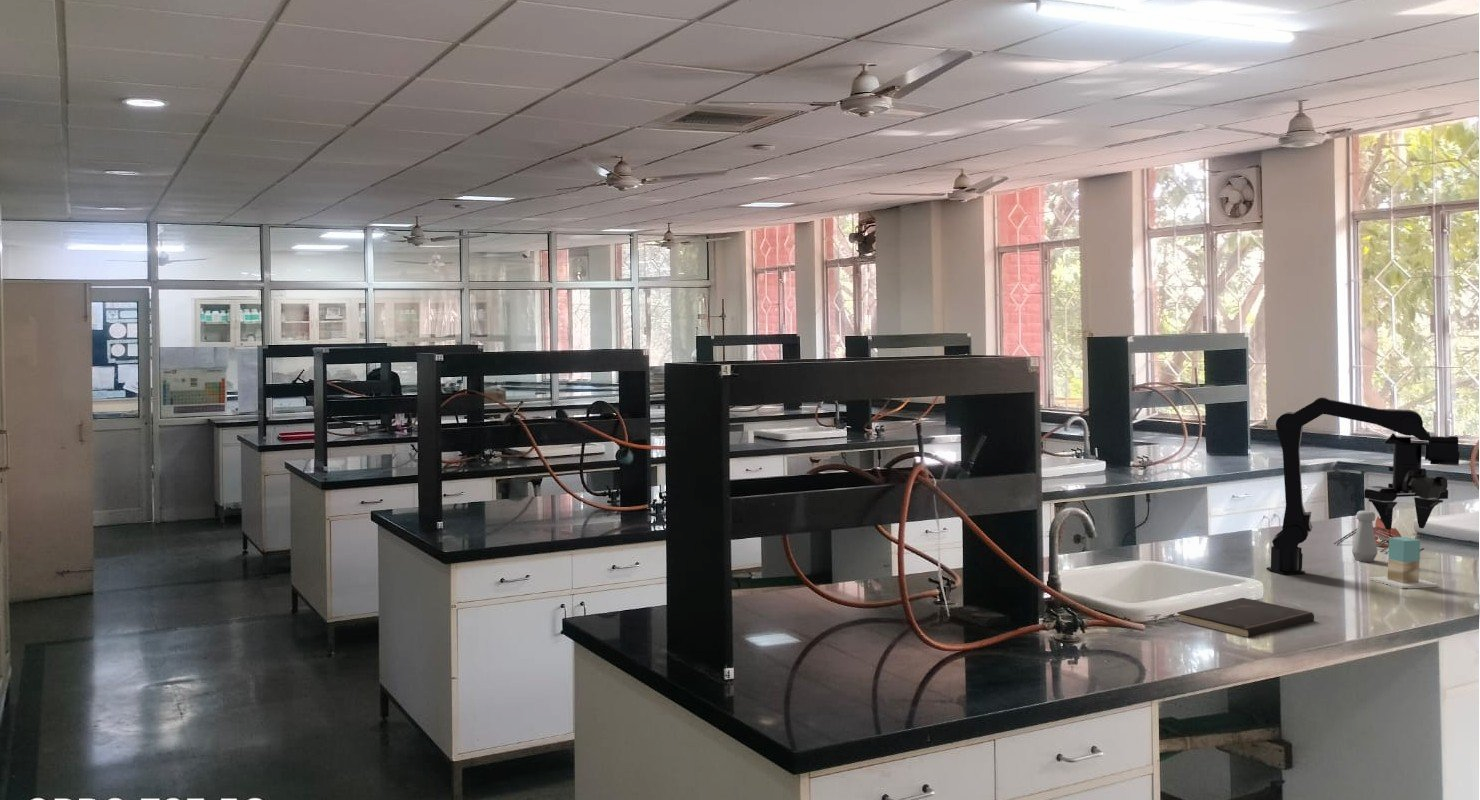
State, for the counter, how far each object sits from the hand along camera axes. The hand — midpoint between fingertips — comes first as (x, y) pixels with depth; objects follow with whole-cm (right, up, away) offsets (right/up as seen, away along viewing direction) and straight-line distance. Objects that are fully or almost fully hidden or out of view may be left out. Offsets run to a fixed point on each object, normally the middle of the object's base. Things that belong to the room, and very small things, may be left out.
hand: (1405, 528), depth 264 cm
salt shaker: (+6, -12, +28) cm, 31 cm away
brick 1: (0, -7, 0) cm, 7 cm away
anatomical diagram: (+21, -11, +44) cm, 50 cm away
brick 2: (0, -12, +1) cm, 12 cm away
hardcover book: (-53, -16, -34) cm, 65 cm away
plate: (0, -13, +1) cm, 13 cm away
